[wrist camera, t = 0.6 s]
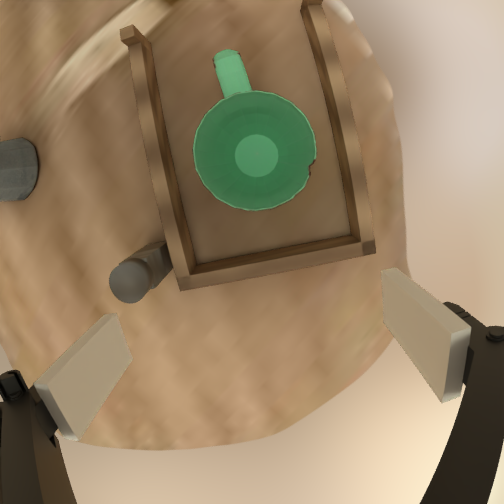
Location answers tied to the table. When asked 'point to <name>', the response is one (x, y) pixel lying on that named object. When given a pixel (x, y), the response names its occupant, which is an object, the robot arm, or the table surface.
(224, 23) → the table surface
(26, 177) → the moka pot
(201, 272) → the bay
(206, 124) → the mug
